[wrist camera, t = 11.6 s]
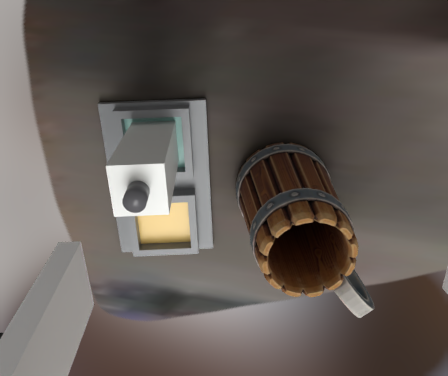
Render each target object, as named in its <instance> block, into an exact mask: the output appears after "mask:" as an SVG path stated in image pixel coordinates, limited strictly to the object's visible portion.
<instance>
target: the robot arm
mask: <svg viewBox="0 0 448 376" xmlns="http://www.w3.org/2000/svg"><path fill="white" fill-rule="evenodd" d="M442 288H443V289H444V290H445V291H446V293H447V294H448V267H447V271H446V275H445V279H444V283H443V287H442ZM93 306H94V301H93V296H92V292H91V287H90V282H89V277H88V273H87V268H86V263H85V258H84V254H83V249H82V244H81V242H59V243H58V244H57V246H56V248H55V249H54V251H53V252H52V255H51V256H50V258H49V260H48V261H47V263H46V264H45V266H44V267H43V269H42V271H41V273H40V274H39V276H38V277H37V279H36V281H35V282H34V284H33V286H32V287H31V289H30V291H29V292H28V294H27V296H26V298H25V299H24V301H23V302H22V304H21V305H20V307H19V309H18V311H17V312H16V314H15V315H14V317H13V319H12V321H11V322H10V324H9V325H8V327H7V329H6V331H5V332H4V333H0V376H68V374H69V371H70V368H71V366H72V363H73V360H74V358H75V355H76V352H77V349H78V347H79V344H80V341H81V339H82V336H83V333H84V330H85V328H86V325H87V322H88V320H89V317H90V314H91V311H92V309H93Z"/></svg>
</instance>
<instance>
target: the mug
mask: <svg viewBox="0 0 448 376" xmlns="http://www.w3.org/2000/svg"><path fill="white" fill-rule="evenodd" d="M246 161H247V162H246V163H245V164H244V165H243V166H242V167H241V169H240V171H239V174H238V177H237V183H236V198H237V202H238V205H239V208H240V210H241V213H242V215H243V217H244V219H245V222H246V225H247V228H248V231H249V235H250V244H251V247H252V251H253V254H254V256H255V259H256V262H257V264H258V266H259V267H260V269H261V271H262V272H263V273H264V276H265V278H266V280H267V281H268V282H269V283H270V284H271V285H272V286H273V287H274V288H276V289H282V291H283V292H284V293H286V294H287V295H290V296H294V297H298V296H301V293H302V292H303V293H304V294H305V295H307V296H309V297H315V296H319V295H321V294H322V293H323V291H324V288H326V289H328V290H334V291H335V293H336V294H337V295H338V297H339V298H340V299H341V301H342V302H343V303H344V304H345V305H346V307H347V308H348V309H349V310H350V311H351V312H352V313H353V314H354V315H356V316H357V317H359V318H361V317H362V316H364V315H366V314H367V313H369V312H370V311H372V310H373V309H374V304H373V301H372V299H371V297H370V295H369V293H368V291H367V290H366V288H365V286H364V284H363V283H362V281H361V279H360V278H359V276H358V275H357V273H356V271H355V270H354V267H355V263H356V258H355V257H356V256H357V254H358V243H357V239H356V237H355V232H354V228H353V224H352V221H351V219H350V217H349V215H348V213H347V211H346V210H345V208H344V206H343V205H342V203H341V202H340V201H339V199H338V197H337V195H336V192H335V190H334V188H333V186H332V182H331V178H330V175H329V172H328V170H327V168H326V167H325V165H324V163H323V162H322V160H321V159H320V158H319V157H318V156H317V155H316V154H315V153H313V152H312V151H311V150H308V149H307V148H306V147H304V146H301V145H299V144H294V143H288V144H284V143H283V142H282V143H274V144H271V145H267V146H266V147H265V148H264V149H259V150H257V151H256V152H255V153H253V154H252V155H251V156H250V157H249V158H248V159H247V160H246Z"/></svg>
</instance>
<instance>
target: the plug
mask: <svg viewBox="0 0 448 376" xmlns="http://www.w3.org/2000/svg"><path fill="white" fill-rule="evenodd" d="M178 162H179V158H178V146H177V134H176V121H149V122H132V123H131V124H130V126H129V128H128V130H127V131H126V133H125V135H124V136H123V138H122V140H121V141H120V143H119V145H118V146H117V148H116V150H115V151H114V153H113V155H112V156H111V158H110V160H109V161H108V163H107V165H106V170H107V176H108V183H109V189H110V195H111V201H112V207H113V213H114V217H123V216H146V215H169V213H170V208H171V202H172V196H173V191H174V185H175V179H176V174H177V168H178Z"/></svg>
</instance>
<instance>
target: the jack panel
mask: <svg viewBox="0 0 448 376" xmlns="http://www.w3.org/2000/svg"><path fill="white" fill-rule="evenodd" d="M98 109H99V115H100V122H101V128H102V134H103V140H104V146H105V152H106V158H107V163H108V161H109V160H110V158H111V156H112V155H113V153H114V151H115V150H116V148H117V146H118V145H119V143H120V141H121V140H122V138H123V136H124V135H125V133H126V131H127V130H128V128H129V126H130V124H131V123H132V122H149V121H176V134H177V146H178V158H179V162H178V168H177V174H176V179H175V185H174V191H173V196H172V202H171V208H170V213H169V215H146V216H123V217H116V220H117V226H118V232H119V238H120V244H121V250H122V252H133V257H134V256H156V255H178V254H199V249H206V248H213V235H212V214H211V194H210V174H209V154H208V133H207V113H206V98H201V99H175V100H149V101H122V102H99V103H98Z"/></svg>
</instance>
